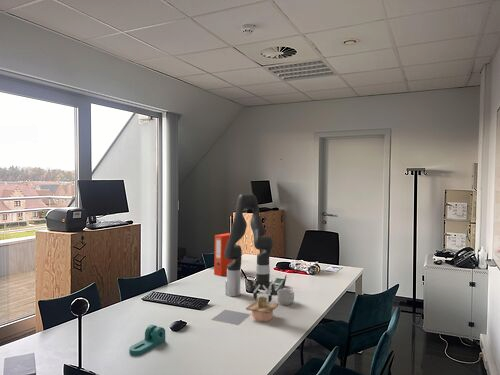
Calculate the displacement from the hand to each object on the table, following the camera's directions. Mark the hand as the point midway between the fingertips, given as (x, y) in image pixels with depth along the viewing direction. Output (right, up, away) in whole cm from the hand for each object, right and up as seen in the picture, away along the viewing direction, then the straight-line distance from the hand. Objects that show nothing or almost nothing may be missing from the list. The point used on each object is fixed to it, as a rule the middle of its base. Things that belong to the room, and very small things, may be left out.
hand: (262, 300), depth 208 cm
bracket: (-55, -11, -36) cm, 67 cm away
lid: (0, -4, 0) cm, 4 cm away
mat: (-18, -10, 0) cm, 20 cm away
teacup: (+16, -10, +26) cm, 32 cm away
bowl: (0, -10, 0) cm, 10 cm away
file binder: (-28, -7, +94) cm, 98 cm away
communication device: (+10, -9, +52) cm, 54 cm away
